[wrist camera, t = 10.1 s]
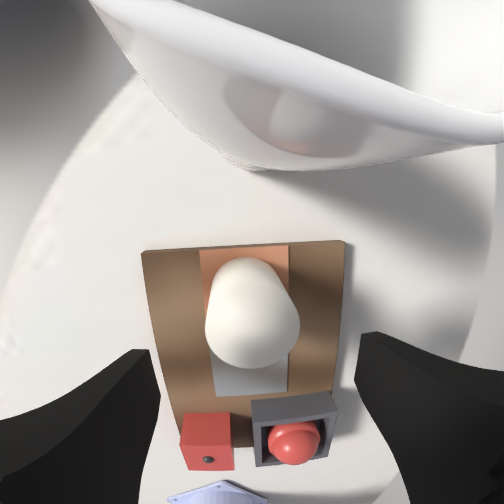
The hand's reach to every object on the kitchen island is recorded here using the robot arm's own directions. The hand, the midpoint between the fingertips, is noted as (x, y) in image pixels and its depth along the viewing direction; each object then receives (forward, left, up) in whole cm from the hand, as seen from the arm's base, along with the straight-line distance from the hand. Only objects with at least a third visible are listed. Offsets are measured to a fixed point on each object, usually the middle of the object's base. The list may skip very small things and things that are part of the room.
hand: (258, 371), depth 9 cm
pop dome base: (-5, -11, -8) cm, 14 cm away
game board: (-4, -5, -9) cm, 11 cm away
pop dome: (-5, -11, -7) cm, 14 cm away
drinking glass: (+7, +7, -9) cm, 13 cm away
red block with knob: (-10, -7, -8) cm, 14 cm away
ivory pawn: (0, 0, -8) cm, 8 cm away
